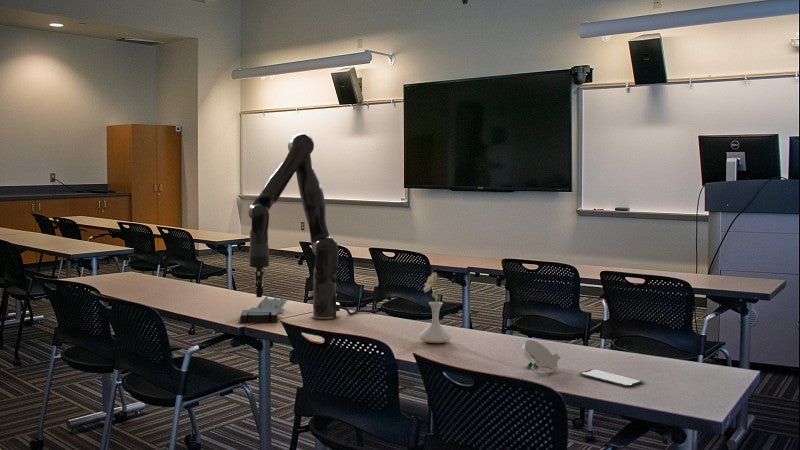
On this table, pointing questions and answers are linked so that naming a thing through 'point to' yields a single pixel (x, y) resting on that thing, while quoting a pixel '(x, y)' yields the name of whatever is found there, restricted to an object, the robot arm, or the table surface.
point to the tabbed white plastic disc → (539, 357)
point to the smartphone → (610, 377)
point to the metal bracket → (271, 304)
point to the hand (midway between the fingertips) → (259, 295)
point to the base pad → (271, 312)
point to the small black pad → (258, 318)
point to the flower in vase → (434, 318)
